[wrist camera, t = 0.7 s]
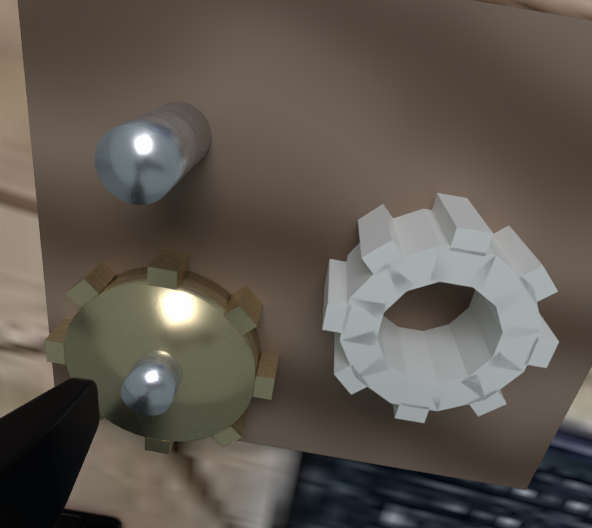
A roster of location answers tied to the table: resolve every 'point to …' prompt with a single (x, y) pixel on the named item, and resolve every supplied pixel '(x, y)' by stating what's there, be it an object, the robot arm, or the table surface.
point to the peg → (152, 152)
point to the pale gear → (446, 339)
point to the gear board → (329, 184)
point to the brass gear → (166, 351)
